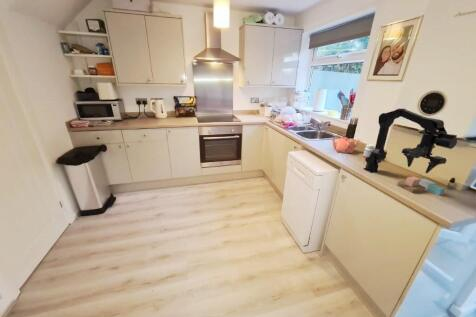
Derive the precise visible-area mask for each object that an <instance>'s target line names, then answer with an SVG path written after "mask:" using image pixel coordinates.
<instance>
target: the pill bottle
mask: <svg viewBox="0 0 476 317" xmlns="http://www.w3.org/2000/svg"><path fill="white" fill-rule="evenodd" d="M365 146H366V147H365V148H364V151H363V154H362V159H364V160H365V159H366V158H367V157H369V156H370V155H371V152H372V151H373V150H374V149H375V146H374V144H370V143H369V144H366V145H365Z"/></svg>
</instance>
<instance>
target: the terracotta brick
mask: <svg viewBox="0 0 476 317" xmlns="http://www.w3.org/2000/svg"><path fill="white" fill-rule="evenodd" d="M421 179H422V178H420V177H417V176H414V175H413V176H408V177H407V178H406V179H405V181H406V182H405V184H407V185H409V186H417V185H419V183H420V180H421Z"/></svg>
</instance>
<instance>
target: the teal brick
mask: <svg viewBox="0 0 476 317" xmlns="http://www.w3.org/2000/svg"><path fill="white" fill-rule="evenodd" d="M446 190H447V188H445V187H443V186H441V185H438V184H437V183H436V184H429V186H428V188H427V189H426V191H427V192H430V193H432V194H435V195H437V196H443V195H444V194H445V192H446Z"/></svg>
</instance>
